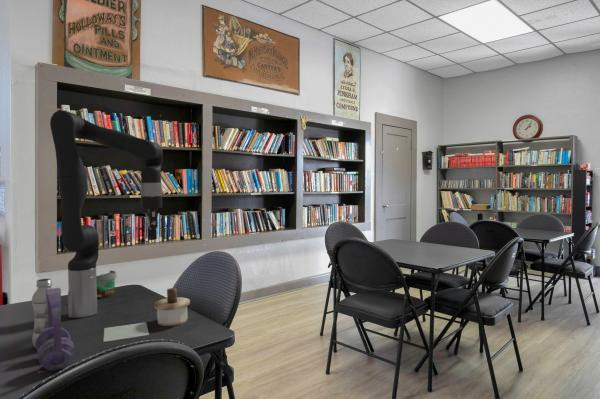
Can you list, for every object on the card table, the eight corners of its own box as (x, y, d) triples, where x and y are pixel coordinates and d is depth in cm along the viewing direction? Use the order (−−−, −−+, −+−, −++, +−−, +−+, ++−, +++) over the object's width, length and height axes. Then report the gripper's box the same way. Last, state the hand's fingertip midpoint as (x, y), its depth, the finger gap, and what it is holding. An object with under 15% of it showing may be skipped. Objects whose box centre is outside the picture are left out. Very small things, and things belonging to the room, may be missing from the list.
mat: (103, 343, 121) (103, 341, 121) (104, 329, 133) (104, 328, 133) (149, 335, 127) (149, 334, 127) (146, 323, 139) (146, 322, 138)
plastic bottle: (40, 343, 122) (38, 277, 121) (63, 342, 122) (61, 277, 122) (27, 351, 115) (25, 282, 115) (52, 350, 116) (50, 282, 115)
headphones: (35, 355, 113) (33, 285, 112) (68, 348, 118) (66, 280, 117) (39, 380, 98) (36, 299, 97) (77, 370, 103) (75, 293, 102)
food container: (104, 300, 168) (104, 276, 168) (91, 299, 169) (91, 276, 169) (123, 292, 180) (122, 270, 180) (111, 292, 181) (110, 270, 181)
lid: (155, 312, 132) (155, 295, 132) (152, 302, 143) (152, 287, 142) (192, 307, 137) (192, 291, 137) (187, 298, 148) (186, 283, 148)
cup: (159, 328, 133) (158, 310, 133) (156, 319, 142) (156, 303, 142) (189, 324, 137) (189, 306, 137) (184, 315, 146) (184, 299, 146)
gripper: (139, 195, 154) (140, 237, 154) (141, 195, 141) (142, 241, 142) (160, 194, 157) (160, 235, 158) (164, 195, 144) (165, 240, 145)
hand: (152, 238), depth 150 cm, fingers open, 8 cm apart
